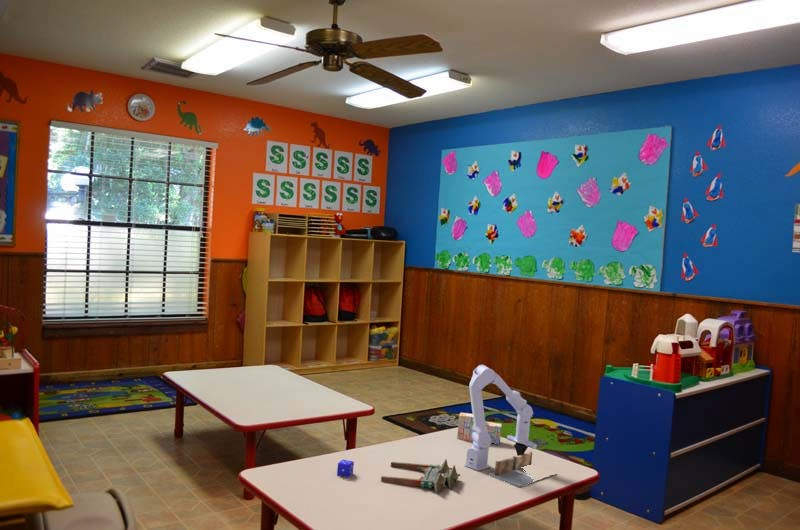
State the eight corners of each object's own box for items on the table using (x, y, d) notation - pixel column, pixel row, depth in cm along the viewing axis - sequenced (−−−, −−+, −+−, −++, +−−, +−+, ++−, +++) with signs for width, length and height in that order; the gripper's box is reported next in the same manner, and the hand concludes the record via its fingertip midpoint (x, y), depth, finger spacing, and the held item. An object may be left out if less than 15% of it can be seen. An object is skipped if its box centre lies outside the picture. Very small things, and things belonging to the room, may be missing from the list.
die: (336, 475, 243) (337, 463, 243) (341, 471, 248) (342, 459, 248) (348, 477, 242) (349, 465, 241) (353, 473, 246) (354, 461, 246)
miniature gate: (393, 455, 263) (462, 460, 257) (393, 467, 263) (462, 473, 257) (378, 476, 236) (455, 483, 230) (378, 490, 237) (455, 497, 230)
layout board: (519, 487, 246) (519, 486, 246) (487, 474, 257) (488, 473, 257) (556, 474, 265) (556, 472, 265) (526, 463, 277) (526, 461, 277)
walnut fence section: (496, 475, 255) (498, 462, 255) (493, 474, 257) (495, 461, 257) (516, 469, 265) (517, 457, 265) (513, 468, 266) (514, 456, 266)
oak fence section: (516, 469, 265) (517, 457, 265) (513, 467, 266) (514, 455, 266) (532, 464, 273) (533, 452, 273) (529, 463, 274) (530, 451, 274)
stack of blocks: (500, 441, 307) (502, 417, 306) (499, 445, 300) (501, 420, 300) (458, 435, 311) (460, 411, 311) (456, 439, 305) (458, 414, 305)
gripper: (541, 433, 268) (538, 463, 269) (514, 424, 279) (512, 453, 279) (532, 435, 263) (529, 466, 264) (505, 426, 274) (502, 456, 274)
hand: (519, 460), depth 271 cm, fingers closed
